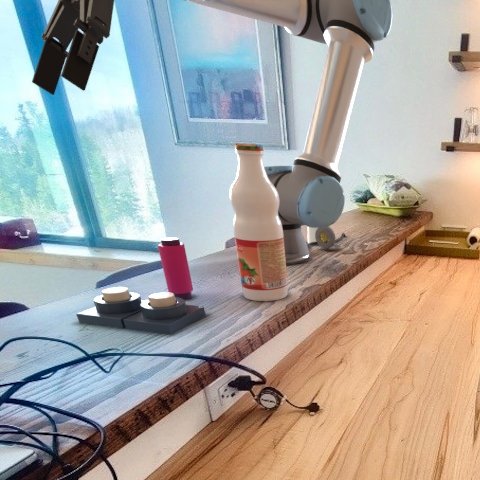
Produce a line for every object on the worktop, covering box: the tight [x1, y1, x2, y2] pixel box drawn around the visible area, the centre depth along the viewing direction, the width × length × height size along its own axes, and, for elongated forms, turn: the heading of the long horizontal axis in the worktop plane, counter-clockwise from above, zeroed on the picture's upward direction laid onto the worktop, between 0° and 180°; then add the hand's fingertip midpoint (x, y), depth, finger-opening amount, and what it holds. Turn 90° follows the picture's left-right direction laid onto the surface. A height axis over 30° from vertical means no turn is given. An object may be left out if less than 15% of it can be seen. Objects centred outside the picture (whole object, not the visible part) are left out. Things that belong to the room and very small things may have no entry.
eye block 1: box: [76, 291, 147, 329], centre depth 76 cm, size 10×8×4 cm
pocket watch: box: [315, 226, 343, 252], centre depth 132 cm, size 8×8×10 cm
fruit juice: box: [229, 142, 289, 302], centre depth 84 cm, size 9×9×28 cm
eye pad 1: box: [101, 286, 130, 302], centre depth 75 cm, size 4×4×2 cm
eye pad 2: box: [147, 291, 176, 307], centre depth 73 cm, size 4×4×2 cm
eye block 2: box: [123, 297, 206, 335], centre depth 75 cm, size 10×8×4 cm
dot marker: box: [157, 237, 194, 301], centre depth 84 cm, size 5×5×12 cm
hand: (57, 86), depth 64 cm, fingers open, 13 cm apart
